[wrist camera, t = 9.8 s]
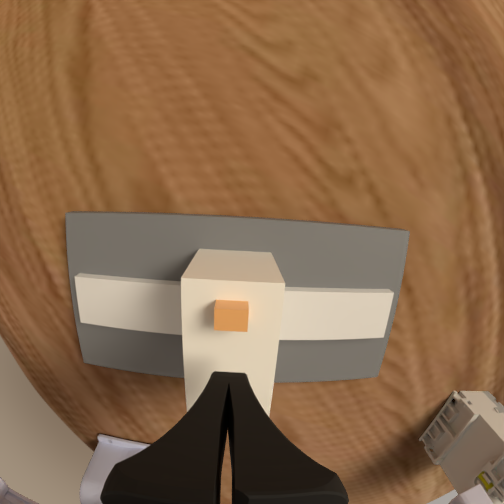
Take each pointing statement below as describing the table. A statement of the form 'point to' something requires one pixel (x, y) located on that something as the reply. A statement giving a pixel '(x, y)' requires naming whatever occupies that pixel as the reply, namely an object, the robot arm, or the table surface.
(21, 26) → the table surface
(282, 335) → the din board
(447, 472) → the circuit breaker
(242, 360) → the block
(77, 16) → the table surface
